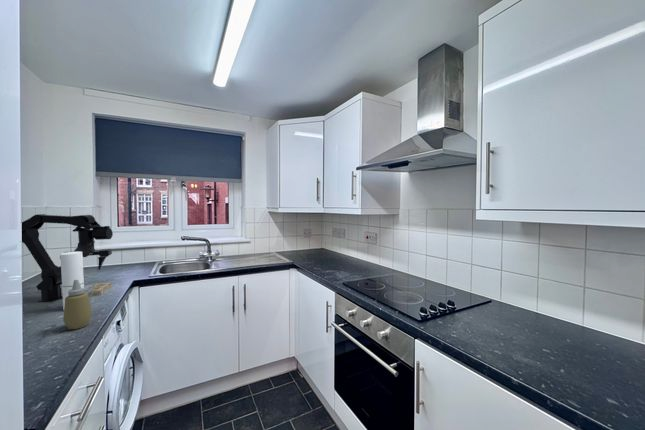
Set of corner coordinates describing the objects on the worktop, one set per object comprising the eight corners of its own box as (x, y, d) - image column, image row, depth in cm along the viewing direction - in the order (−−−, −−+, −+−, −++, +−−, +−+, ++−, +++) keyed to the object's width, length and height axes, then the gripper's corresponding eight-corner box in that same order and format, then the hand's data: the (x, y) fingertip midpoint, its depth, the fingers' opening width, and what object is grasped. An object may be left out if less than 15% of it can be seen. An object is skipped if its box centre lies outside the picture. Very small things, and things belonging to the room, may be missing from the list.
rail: (100, 294, 137) (100, 289, 136) (83, 296, 134) (83, 291, 134) (112, 286, 150) (111, 282, 150) (96, 287, 147) (96, 283, 147)
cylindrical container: (83, 303, 125) (80, 250, 123) (86, 307, 120) (83, 252, 119) (62, 308, 119) (59, 253, 118) (64, 312, 115) (61, 255, 113)
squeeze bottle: (97, 321, 106) (95, 277, 105) (80, 331, 98) (77, 283, 97) (77, 321, 106) (74, 277, 105) (57, 331, 97) (54, 283, 97)
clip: (86, 301, 127) (85, 289, 127) (78, 302, 126) (78, 290, 126) (94, 296, 134) (93, 284, 134) (87, 296, 133) (86, 285, 133)
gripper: (53, 243, 121) (55, 277, 122) (104, 240, 128) (105, 272, 129) (64, 240, 131) (66, 271, 132) (111, 238, 139) (112, 267, 139)
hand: (87, 270), depth 133 cm, fingers open, 9 cm apart
